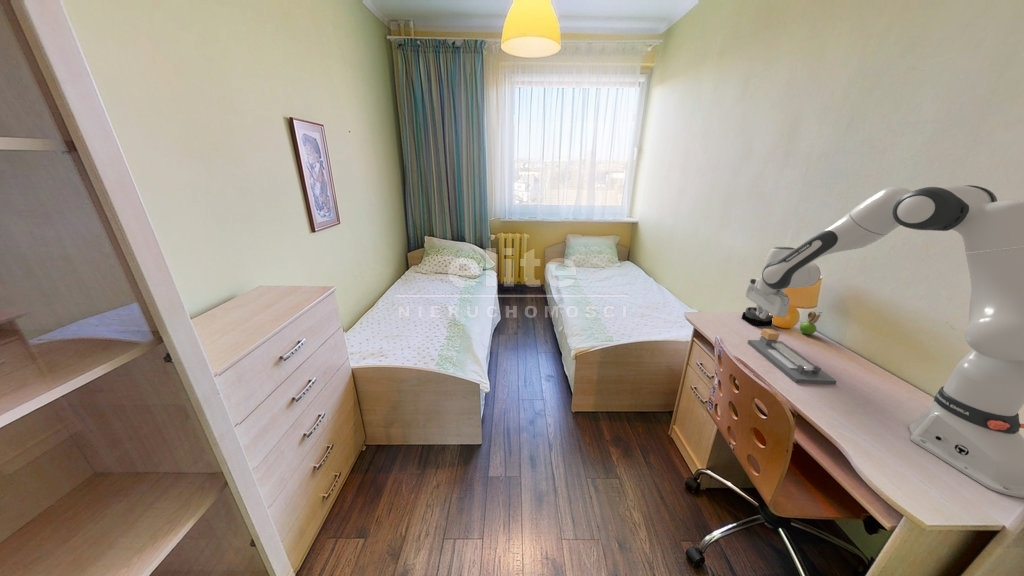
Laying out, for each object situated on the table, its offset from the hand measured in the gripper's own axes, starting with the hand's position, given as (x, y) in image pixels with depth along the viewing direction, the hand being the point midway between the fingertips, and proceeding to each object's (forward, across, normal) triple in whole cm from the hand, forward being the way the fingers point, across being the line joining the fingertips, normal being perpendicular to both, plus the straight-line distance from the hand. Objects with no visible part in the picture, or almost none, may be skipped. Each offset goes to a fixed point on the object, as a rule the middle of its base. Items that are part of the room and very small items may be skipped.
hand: (760, 316), depth 136 cm
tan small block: (+6, -7, 0) cm, 9 cm away
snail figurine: (+10, +4, -25) cm, 27 cm away
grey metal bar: (+7, -20, 0) cm, 21 cm away
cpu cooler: (+10, +14, -10) cm, 20 cm away
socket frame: (+9, -19, 0) cm, 21 cm away
